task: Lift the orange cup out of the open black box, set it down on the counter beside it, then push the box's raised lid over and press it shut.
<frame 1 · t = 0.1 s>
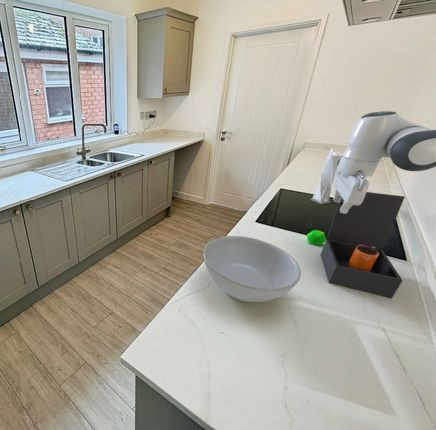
hand: (339, 206, 88), 22 cm above the worktop, tool pointing down, fingers open, 8 cm apart
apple: (315, 243, 108), on the worktop
container: (364, 251, 102), on the worktop
black box: (351, 275, 90), on the worktop
skyscraper: (319, 200, 145), on the worktop
decorative bowl: (241, 288, 86), on the worktop
cup: (353, 277, 88), point 1 cm above the worktop, touching black box
box lid: (363, 218, 90), point 17 cm above the worktop, hinge at 100.1°, touching gripper
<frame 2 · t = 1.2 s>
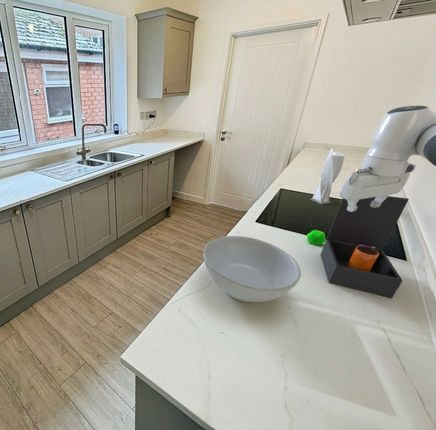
hand: (362, 208, 82), 24 cm above the worktop, tool pointing down, fingers open, 8 cm apart
box lid: (364, 220, 89), point 17 cm above the worktop, hinge at 91.6°
everything else where it was.
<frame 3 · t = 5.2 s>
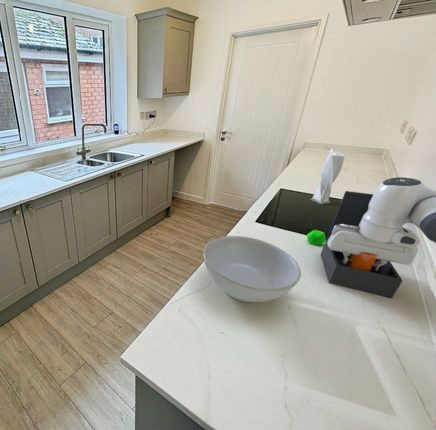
hand: (359, 266, 86), 6 cm above the worktop, tool pointing down, fingers closed on cup, 5 cm apart
cup: (353, 277, 88), point 1 cm above the worktop, touching black box, gripper
everything else where it was.
when the fingers open (5 cm above the worktop, at t = 13.7 s): cup stays where it is, on the worktop.
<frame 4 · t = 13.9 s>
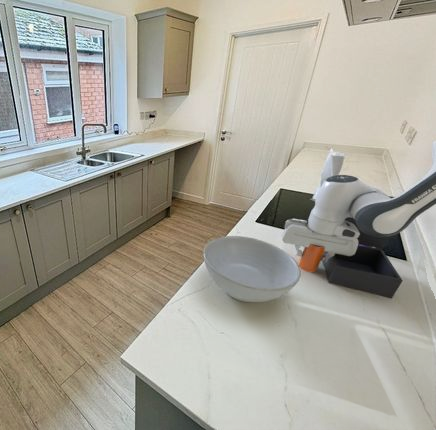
hand: (310, 257, 92), 5 cm above the worktop, tool pointing down, fingers open, 6 cm apart
cup: (306, 268, 94), on the worktop
everything else where it was.
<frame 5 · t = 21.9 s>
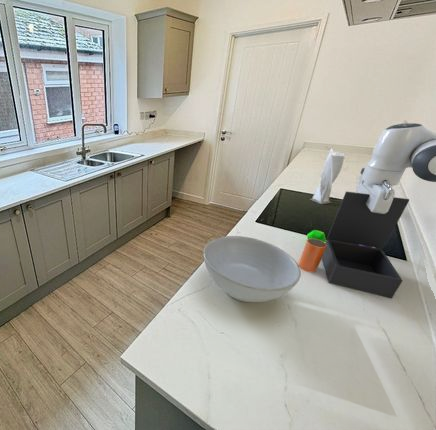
hand: (363, 214, 91), 18 cm above the worktop, tool pointing down, fingers closed
box lid: (364, 220, 89), point 17 cm above the worktop, hinge at 89.8°, touching gripper
everything else where it was.
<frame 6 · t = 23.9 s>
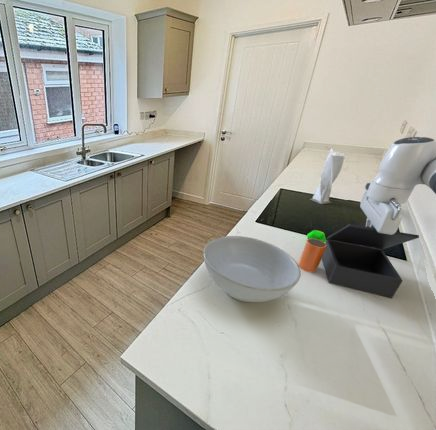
hand: (368, 232, 84), 16 cm above the worktop, tool pointing down, fingers closed
box lid: (366, 237, 85), point 14 cm above the worktop, hinge at 42.4°, touching gripper
everything else where it was.
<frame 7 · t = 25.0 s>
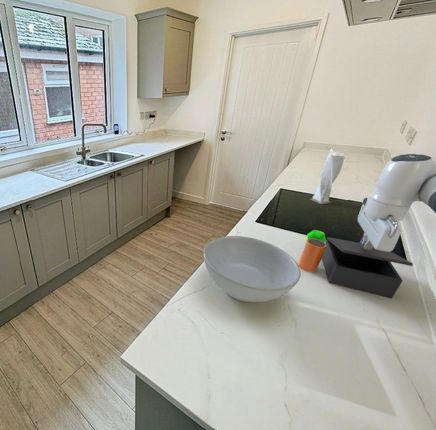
hand: (365, 247, 84), 12 cm above the worktop, tool pointing down, fingers closed
box lid: (364, 249, 85), point 11 cm above the worktop, hinge at 16.7°, touching gripper
everything else where it was.
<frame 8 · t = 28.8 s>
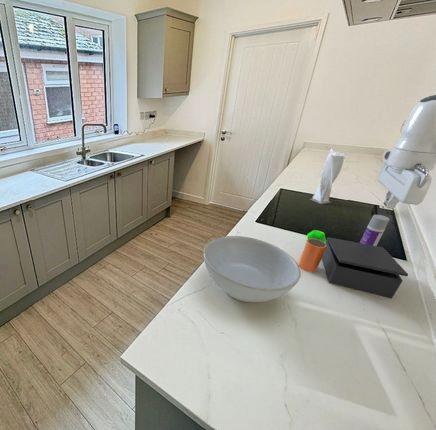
hand: (388, 206, 76), 27 cm above the worktop, tool pointing down, fingers closed
box lid: (362, 254, 85), point 9 cm above the worktop, hinge at 6.1°
everything else where it was.
at the end: cup inside the target area (0.1 cm from its centre), on the worktop; cup tilted 0°; box lid at +6° (first picture: +100°) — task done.
